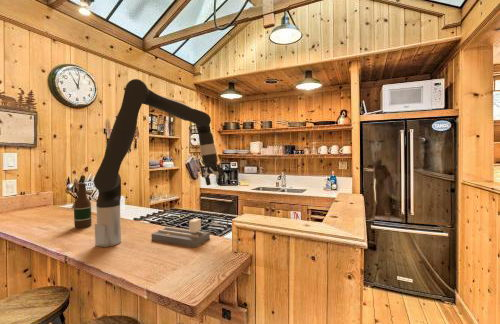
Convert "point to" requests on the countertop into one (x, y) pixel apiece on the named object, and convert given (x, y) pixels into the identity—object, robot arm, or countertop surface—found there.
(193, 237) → the console
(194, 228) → the fader tab
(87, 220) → the beer bottle
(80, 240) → the countertop surface
